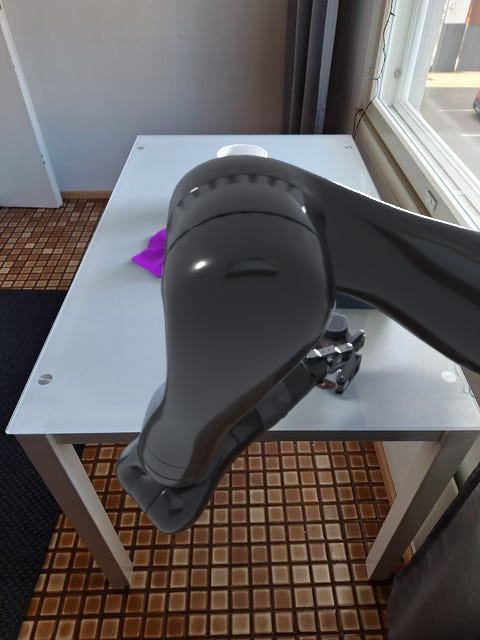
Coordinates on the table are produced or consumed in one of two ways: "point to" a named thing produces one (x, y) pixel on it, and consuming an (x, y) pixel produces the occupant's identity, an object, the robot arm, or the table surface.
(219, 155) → the cup
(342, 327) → the supplement bottle
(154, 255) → the cloth
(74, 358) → the table surface
